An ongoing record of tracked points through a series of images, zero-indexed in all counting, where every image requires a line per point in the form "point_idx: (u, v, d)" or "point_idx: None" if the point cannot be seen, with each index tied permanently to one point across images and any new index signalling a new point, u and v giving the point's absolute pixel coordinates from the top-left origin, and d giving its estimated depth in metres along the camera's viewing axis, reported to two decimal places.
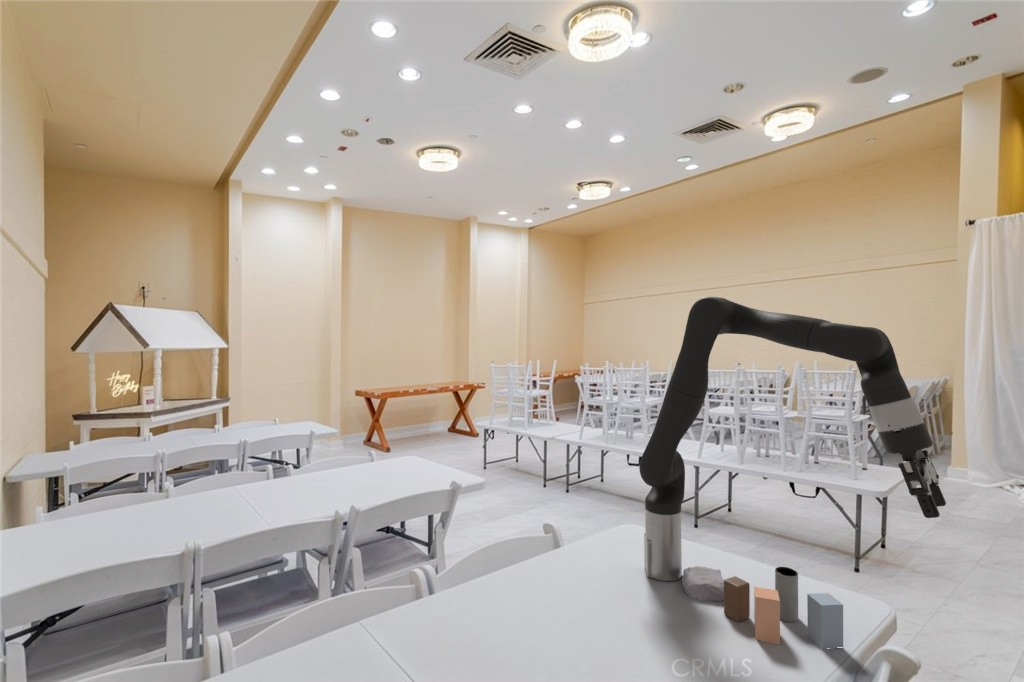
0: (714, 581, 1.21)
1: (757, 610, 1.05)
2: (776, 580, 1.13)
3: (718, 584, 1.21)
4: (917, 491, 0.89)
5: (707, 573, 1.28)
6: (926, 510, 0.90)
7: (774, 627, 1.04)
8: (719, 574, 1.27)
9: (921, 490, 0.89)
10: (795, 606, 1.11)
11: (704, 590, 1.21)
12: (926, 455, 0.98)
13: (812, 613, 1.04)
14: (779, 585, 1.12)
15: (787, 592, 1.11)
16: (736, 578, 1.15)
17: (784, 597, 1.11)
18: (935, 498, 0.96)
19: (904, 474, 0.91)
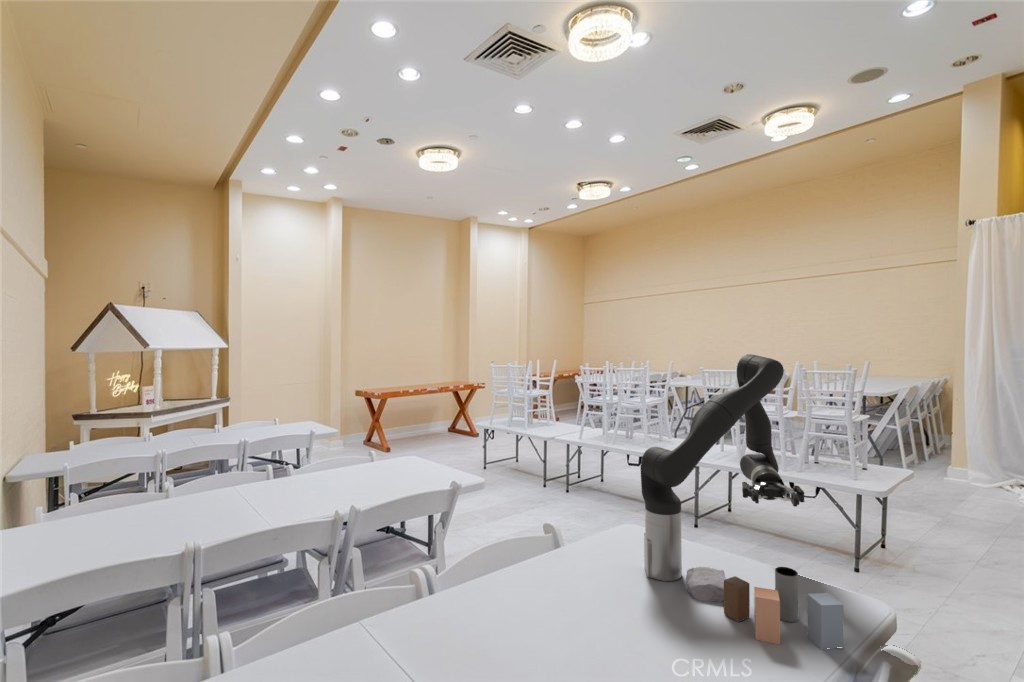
0: (718, 582, 1.21)
1: (757, 610, 1.05)
2: (776, 580, 1.13)
3: (722, 584, 1.21)
4: None
5: (711, 573, 1.27)
6: None
7: (774, 627, 1.04)
8: (723, 574, 1.27)
9: (803, 498, 1.28)
10: (795, 606, 1.11)
11: (708, 591, 1.21)
12: None
13: (812, 613, 1.04)
14: (779, 585, 1.12)
15: (787, 592, 1.11)
16: (736, 578, 1.15)
17: (784, 597, 1.11)
18: None
19: (800, 489, 1.30)
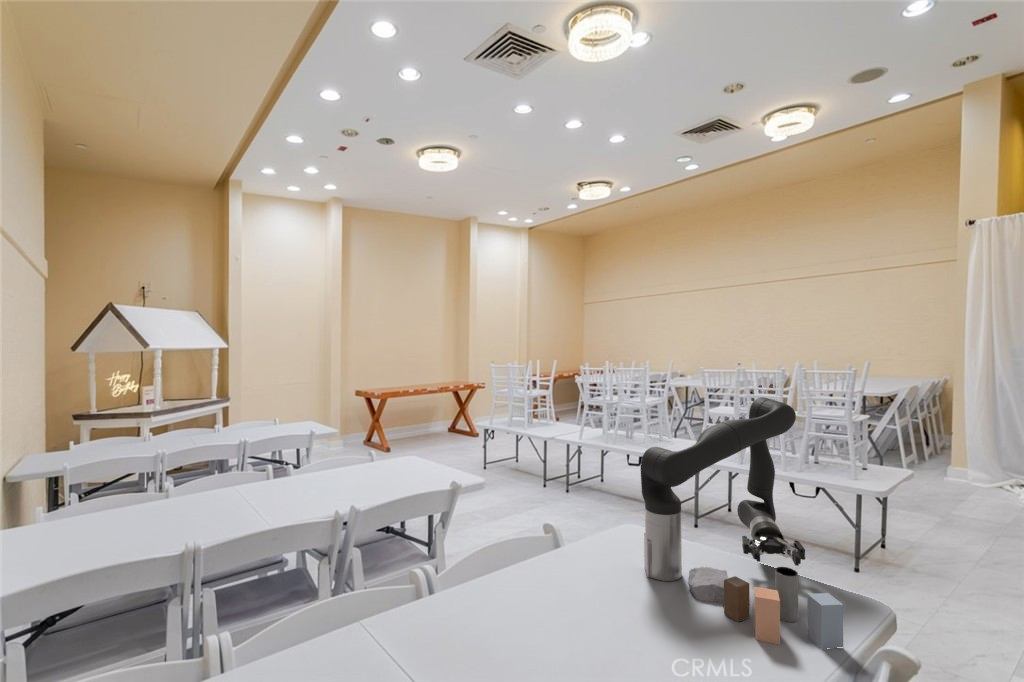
0: (720, 582, 1.21)
1: (757, 610, 1.05)
2: (776, 580, 1.13)
3: None
4: (804, 553, 1.27)
5: (713, 573, 1.27)
6: None
7: (774, 627, 1.04)
8: (725, 575, 1.27)
9: (804, 556, 1.27)
10: (795, 606, 1.11)
11: (710, 591, 1.21)
12: None
13: (812, 613, 1.04)
14: (779, 585, 1.12)
15: (787, 592, 1.11)
16: (736, 578, 1.15)
17: (784, 597, 1.11)
18: None
19: (801, 545, 1.30)
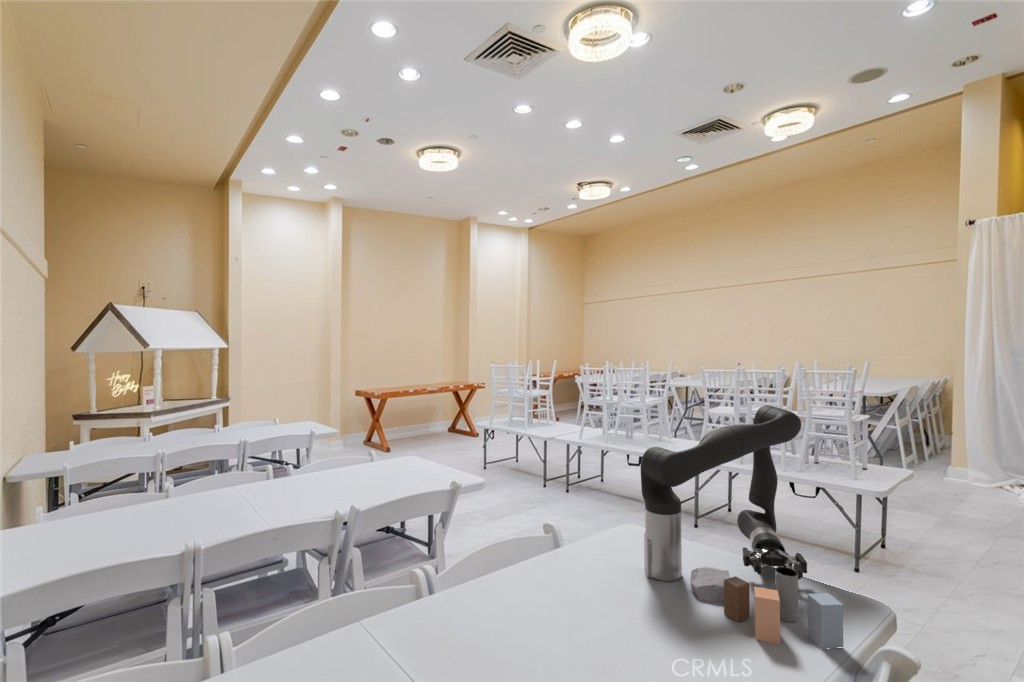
0: (722, 582, 1.21)
1: (757, 610, 1.05)
2: (776, 580, 1.13)
3: None
4: (806, 567, 1.24)
5: (715, 574, 1.27)
6: None
7: (774, 627, 1.04)
8: (727, 575, 1.27)
9: (806, 569, 1.24)
10: (795, 606, 1.11)
11: (713, 591, 1.21)
12: None
13: (812, 613, 1.04)
14: (779, 585, 1.12)
15: (787, 592, 1.11)
16: (736, 578, 1.15)
17: (784, 597, 1.11)
18: None
19: (802, 558, 1.27)
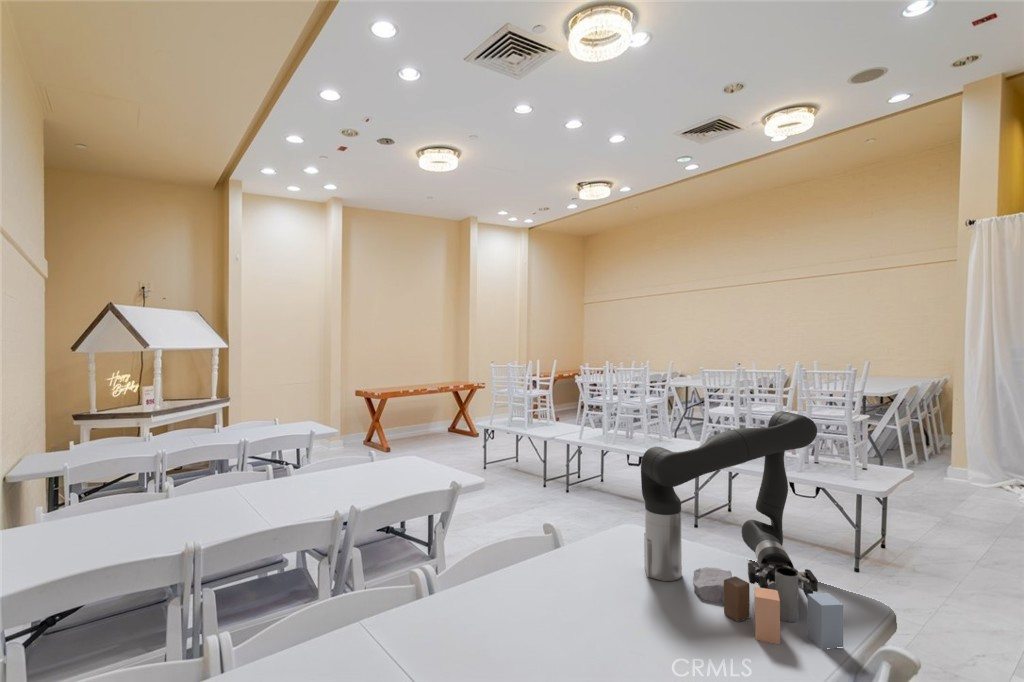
0: None
1: (757, 610, 1.05)
2: (776, 580, 1.13)
3: None
4: None
5: (718, 574, 1.27)
6: None
7: (774, 627, 1.04)
8: (730, 575, 1.27)
9: None
10: (795, 606, 1.11)
11: (716, 591, 1.20)
12: None
13: (812, 613, 1.04)
14: (779, 585, 1.12)
15: (787, 592, 1.11)
16: (736, 578, 1.15)
17: (784, 597, 1.11)
18: None
19: (812, 574, 1.18)
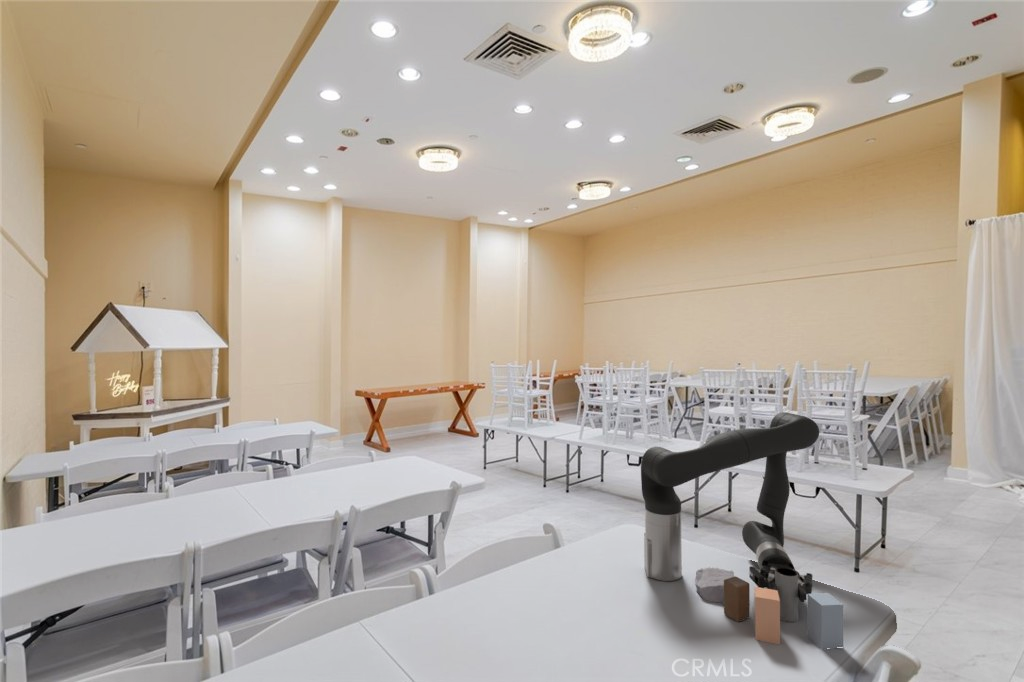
0: None
1: (757, 610, 1.05)
2: (776, 580, 1.13)
3: None
4: (810, 588, 1.14)
5: (720, 574, 1.27)
6: None
7: (774, 627, 1.04)
8: (732, 575, 1.27)
9: (810, 590, 1.14)
10: (795, 606, 1.11)
11: (718, 592, 1.20)
12: None
13: (812, 613, 1.04)
14: (779, 585, 1.12)
15: (787, 592, 1.11)
16: (736, 578, 1.15)
17: (784, 597, 1.11)
18: None
19: (811, 578, 1.16)
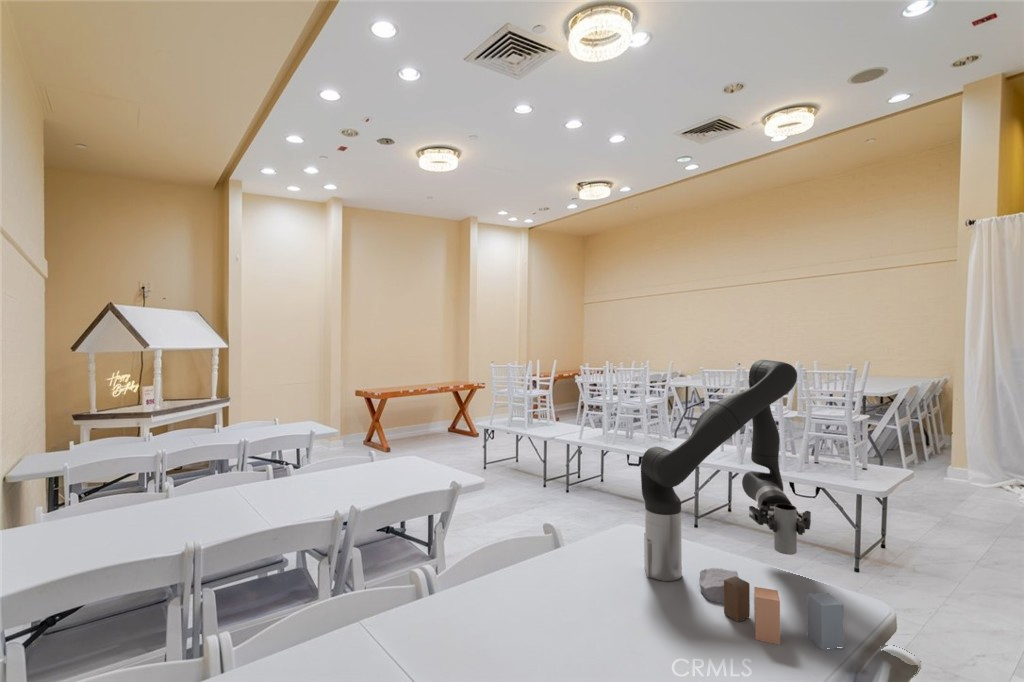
0: None
1: (757, 610, 1.05)
2: (775, 515, 1.16)
3: None
4: (809, 523, 1.16)
5: (724, 575, 1.26)
6: None
7: (774, 627, 1.04)
8: (736, 576, 1.26)
9: (808, 525, 1.17)
10: (794, 539, 1.14)
11: (722, 592, 1.20)
12: None
13: (812, 613, 1.04)
14: (778, 519, 1.15)
15: (786, 526, 1.14)
16: (736, 578, 1.15)
17: (783, 531, 1.14)
18: None
19: (810, 515, 1.19)
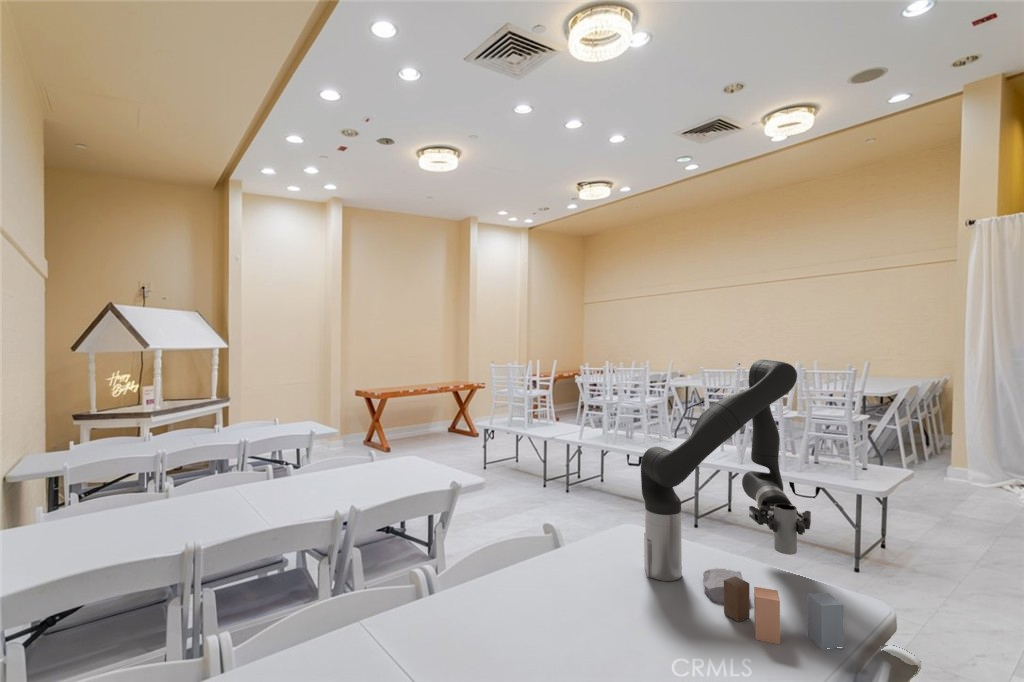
0: None
1: (757, 610, 1.05)
2: (775, 515, 1.16)
3: None
4: (809, 523, 1.16)
5: (728, 575, 1.26)
6: None
7: (774, 627, 1.04)
8: (740, 576, 1.26)
9: (809, 525, 1.17)
10: (794, 539, 1.14)
11: None
12: None
13: (812, 613, 1.04)
14: (778, 519, 1.15)
15: (786, 525, 1.14)
16: (736, 578, 1.15)
17: (783, 531, 1.14)
18: None
19: (810, 515, 1.19)
